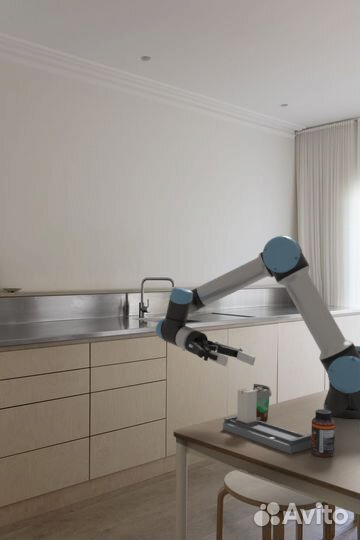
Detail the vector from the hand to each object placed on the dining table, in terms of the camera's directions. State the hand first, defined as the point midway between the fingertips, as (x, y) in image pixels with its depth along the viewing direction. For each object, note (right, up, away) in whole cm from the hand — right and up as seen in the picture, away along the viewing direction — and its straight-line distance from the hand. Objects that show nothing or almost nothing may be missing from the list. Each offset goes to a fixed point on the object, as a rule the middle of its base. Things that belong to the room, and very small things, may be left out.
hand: (240, 361), depth 161 cm
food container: (+8, -20, +9) cm, 24 cm away
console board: (+6, -20, -10) cm, 23 cm away
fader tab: (+1, -18, -3) cm, 18 cm away
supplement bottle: (+19, -21, -23) cm, 36 cm away
